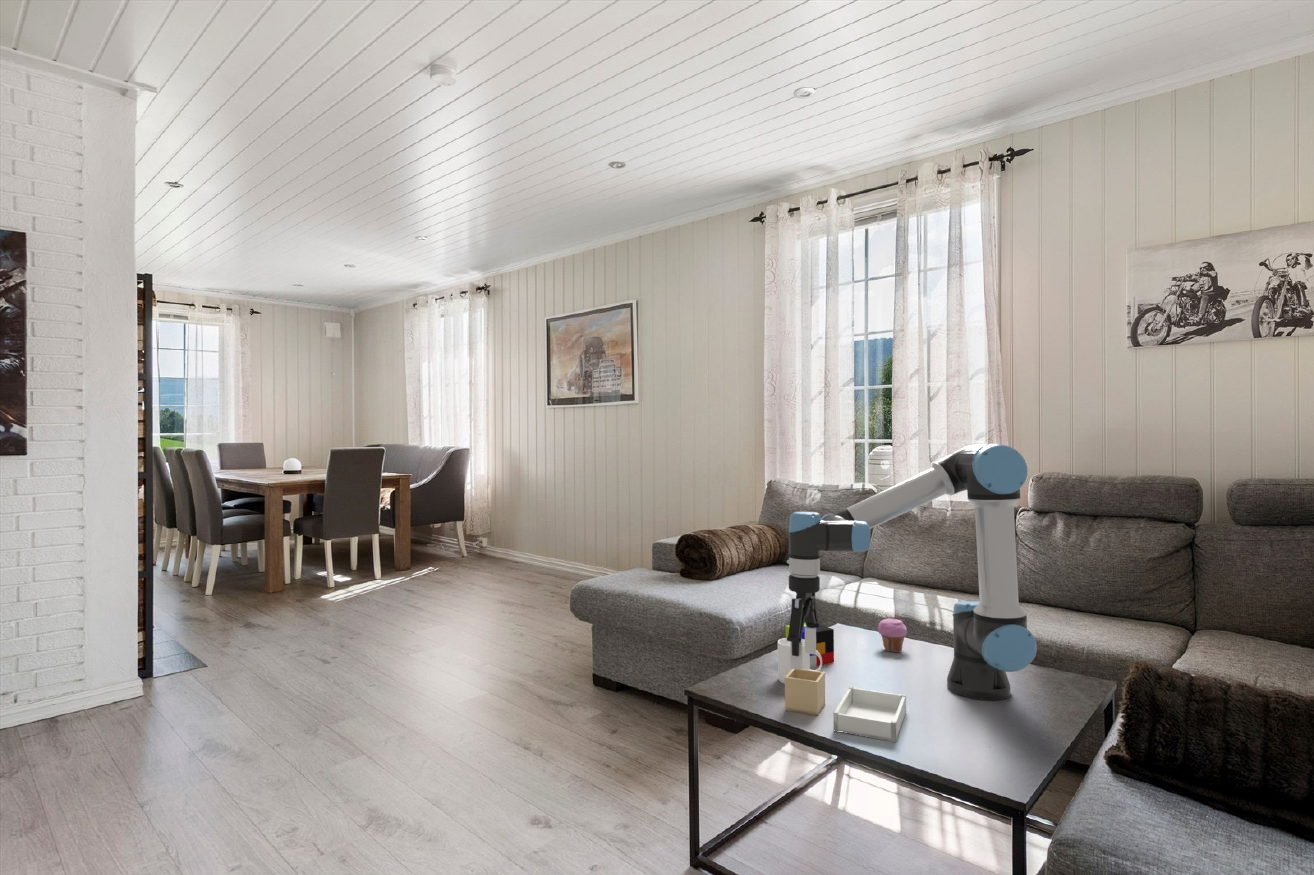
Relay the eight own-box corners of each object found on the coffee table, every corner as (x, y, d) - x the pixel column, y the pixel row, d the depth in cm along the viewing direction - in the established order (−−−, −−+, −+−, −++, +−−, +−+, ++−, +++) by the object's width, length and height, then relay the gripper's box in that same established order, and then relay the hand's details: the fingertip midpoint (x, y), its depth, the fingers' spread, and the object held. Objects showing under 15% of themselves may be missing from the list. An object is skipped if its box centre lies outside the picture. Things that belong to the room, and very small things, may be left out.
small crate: (825, 704, 172) (825, 672, 172) (817, 715, 164) (817, 682, 164) (793, 699, 175) (793, 667, 175) (785, 710, 168) (784, 677, 168)
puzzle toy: (807, 668, 200) (807, 633, 200) (786, 658, 209) (785, 625, 209) (834, 663, 204) (833, 629, 204) (811, 654, 213) (811, 621, 213)
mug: (824, 687, 184) (824, 647, 184) (779, 686, 185) (779, 646, 185) (819, 676, 192) (819, 638, 192) (776, 675, 193) (776, 637, 193)
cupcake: (910, 655, 211) (909, 622, 211) (881, 654, 212) (880, 621, 212) (903, 646, 220) (903, 615, 220) (875, 646, 221) (875, 614, 221)
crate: (906, 712, 166) (905, 694, 166) (895, 742, 149) (895, 723, 149) (849, 703, 172) (849, 686, 172) (833, 731, 155) (833, 712, 155)
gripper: (801, 565, 183) (801, 645, 183) (774, 582, 161) (774, 673, 160) (830, 568, 180) (829, 649, 179) (806, 585, 157) (806, 678, 157)
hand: (803, 661), depth 170 cm, fingers open, 13 cm apart
